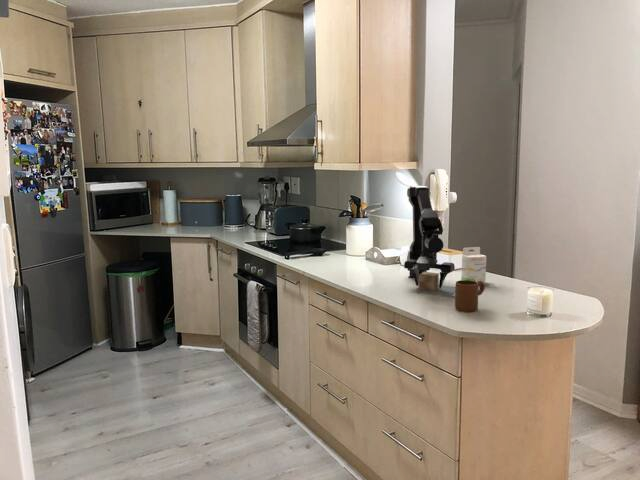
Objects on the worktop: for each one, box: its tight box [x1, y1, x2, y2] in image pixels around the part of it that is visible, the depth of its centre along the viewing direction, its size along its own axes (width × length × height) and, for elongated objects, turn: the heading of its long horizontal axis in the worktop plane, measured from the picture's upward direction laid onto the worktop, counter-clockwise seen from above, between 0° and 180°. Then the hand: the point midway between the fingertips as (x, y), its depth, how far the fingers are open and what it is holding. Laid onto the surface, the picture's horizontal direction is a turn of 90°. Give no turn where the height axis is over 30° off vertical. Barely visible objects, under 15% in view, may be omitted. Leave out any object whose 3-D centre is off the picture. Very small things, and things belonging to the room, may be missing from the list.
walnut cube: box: [418, 271, 440, 292], centre depth 206 cm, size 6×6×6 cm
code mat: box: [412, 284, 479, 299], centre depth 203 cm, size 22×16×1 cm
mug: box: [454, 280, 486, 313], centre depth 180 cm, size 12×8×9 cm, turn 120°
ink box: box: [460, 246, 487, 284], centre depth 215 cm, size 9×5×15 cm, turn 105°
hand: (428, 287), depth 207 cm, fingers open, 9 cm apart
